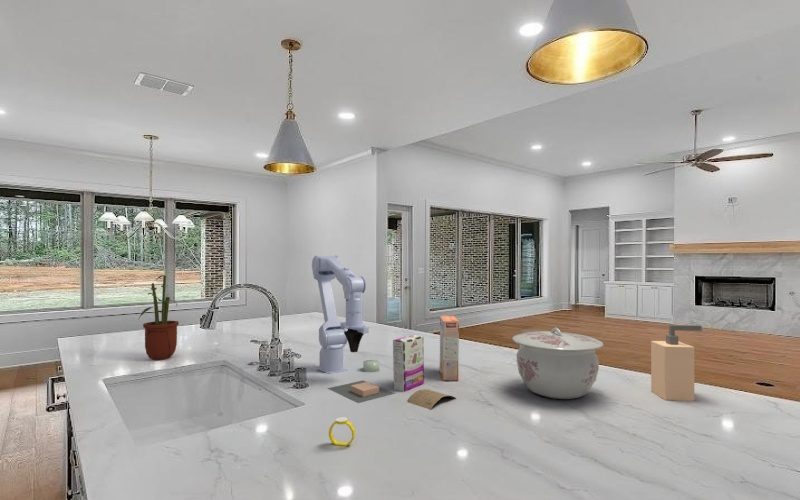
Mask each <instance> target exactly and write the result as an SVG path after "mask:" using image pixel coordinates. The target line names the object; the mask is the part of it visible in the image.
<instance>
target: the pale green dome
mask: <svg viewBox="0 0 800 500" xmlns="http://www.w3.org/2000/svg"><path fill="white" fill-rule="evenodd" d="M362 368H363V369H362V370H363V372H365V373H377V372H379V371H380V361H379V360H378V359H368V360H363V364H362Z"/></svg>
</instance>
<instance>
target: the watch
mask: <svg viewBox="0 0 800 500" xmlns="http://www.w3.org/2000/svg"><path fill="white" fill-rule="evenodd" d="M335 425H347V427H349V429H350V431H351V438H350V440H349V441H348V442H345V441H338V440H337V439H336V438H334V435H333V427H334V426H335ZM355 436H356V429H355V427H354V426H353V423H352V422H351V421H349V419H348V418H347V417H346V416H341V417H337V418H336V419H335V421H333V423H331V425H330V426H329V429H328V437H329V440H330V442H331V443H332V444H333V445H334V446H340V447H341V446H344V447H348V446H349V445H350V444H352V442H353V441H354V439H355Z"/></svg>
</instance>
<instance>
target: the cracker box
mask: <svg viewBox="0 0 800 500" xmlns="http://www.w3.org/2000/svg"><path fill="white" fill-rule="evenodd" d="M459 335H460V321H459V320H458V319H457V317H456V316H455V315H440V316H439V372H440V377H441V379H442V381H447V382H449V381H450V382H459V367H460V366H459V363H460V361H459V359H460V358H459V353H460V352H459V350H460V348H459V347H460V344H459V343H460V337H459Z"/></svg>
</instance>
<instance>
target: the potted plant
mask: <svg viewBox="0 0 800 500" xmlns="http://www.w3.org/2000/svg"><path fill="white" fill-rule="evenodd" d="M160 278H162V284H161V285H160V287H161V288H162V296H161V297H162V298H161V299H160V298H158V297H157V292H156V290H157V289H158V288H157V287H155V283H154V282H152V283H151V287H150V290H151V291H152V292H148V293H147V295H148V296H149V295H151V296H152V297H153V298H152V299H153V306H151V307H147V308H145V309H144V310H142V312H141V314H140V316H139V318H138V320H140V318H141V317H142V316H143V315H144V314H145V313H146V312H148V311H149V310H151V309H153V308H154V309H153V311H154V321H148V322H144V323H143V324H142V325H143V328H144V348H145V353H146V355H147V356H148V358H149V359H151V360H153V361H163V360H168V359H169V358H171V357H173V355H174V354H175V352H176V349H177V344H178V343H177V342H178V340H177V339H178V326H179V324H180V323H179V321H178V320H168V315H169V308H170V307H169V306H170V302H173V303H175V301H173V300H171V297H170V296H166V295H168V294H166V287H167V285H166V284H167V275H166V274H165V275H163V274H162V275H159V276H158V277H157V278H156V279H155V281H157V280H159V279H160ZM159 302H161V310H159V305H158V303H159ZM175 305H176V306H178V304H177V303H175ZM159 313H161V320H160V316H159V315H160V314H159Z"/></svg>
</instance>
